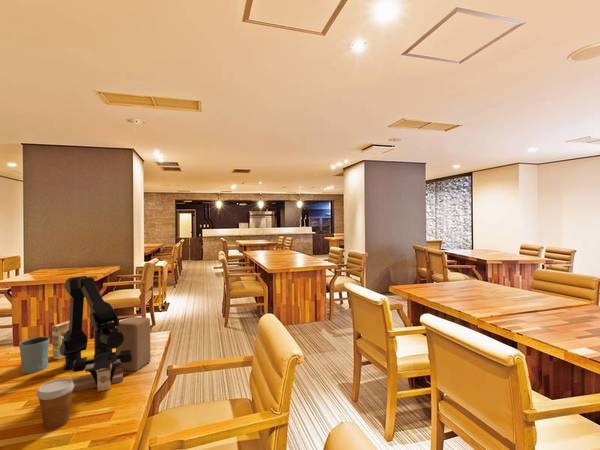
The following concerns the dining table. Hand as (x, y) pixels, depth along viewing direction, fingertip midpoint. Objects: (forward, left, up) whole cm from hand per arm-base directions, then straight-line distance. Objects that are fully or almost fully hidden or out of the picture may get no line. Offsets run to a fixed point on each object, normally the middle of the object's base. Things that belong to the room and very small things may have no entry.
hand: (104, 382), depth 124 cm
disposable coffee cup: (+17, -12, -2) cm, 21 cm away
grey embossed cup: (-33, -27, -2) cm, 42 cm away
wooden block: (-16, +10, -2) cm, 19 cm away
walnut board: (-7, -5, -2) cm, 9 cm away
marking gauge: (-3, 0, -2) cm, 4 cm away
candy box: (-43, -18, -2) cm, 46 cm away
